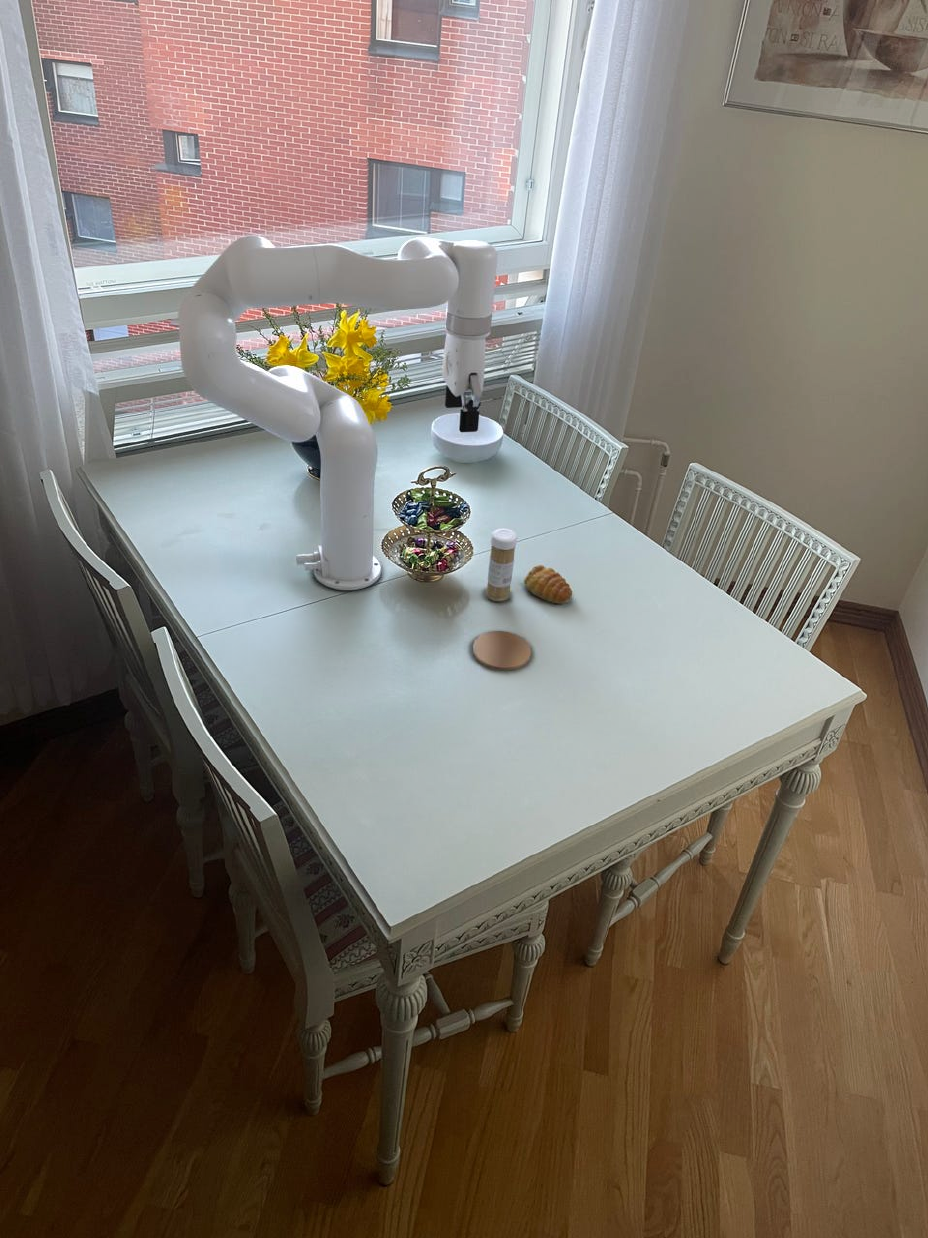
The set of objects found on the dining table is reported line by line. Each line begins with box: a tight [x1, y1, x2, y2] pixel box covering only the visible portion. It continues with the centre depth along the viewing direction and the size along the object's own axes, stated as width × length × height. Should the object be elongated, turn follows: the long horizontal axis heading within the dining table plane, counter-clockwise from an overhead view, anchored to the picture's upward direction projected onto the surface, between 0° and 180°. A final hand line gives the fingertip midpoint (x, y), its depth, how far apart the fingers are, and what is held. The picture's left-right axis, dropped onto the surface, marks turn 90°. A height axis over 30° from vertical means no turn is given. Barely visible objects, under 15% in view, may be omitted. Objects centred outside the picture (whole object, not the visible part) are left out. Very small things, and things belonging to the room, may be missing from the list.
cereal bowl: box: [430, 412, 504, 464], centre depth 215 cm, size 17×17×7 cm
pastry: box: [523, 564, 573, 605], centre depth 174 cm, size 9×7×4 cm
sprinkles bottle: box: [485, 528, 518, 602], centre depth 169 cm, size 5×5×14 cm
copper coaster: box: [472, 630, 532, 671], centre depth 160 cm, size 10×10×1 cm
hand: (460, 418), depth 162 cm, fingers open, 9 cm apart
